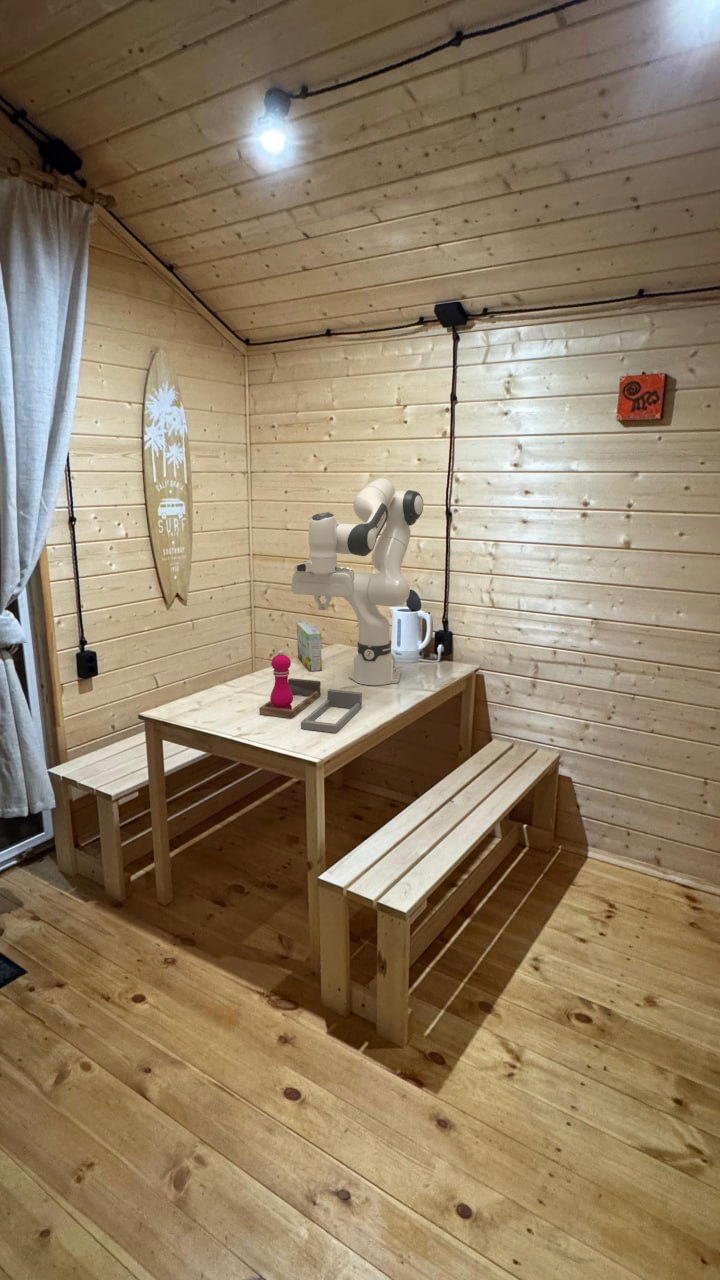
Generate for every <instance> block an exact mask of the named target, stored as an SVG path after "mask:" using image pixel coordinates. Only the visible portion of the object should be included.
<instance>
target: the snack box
mask: <svg viewBox="0 0 720 1280" xmlns="http://www.w3.org/2000/svg"><path fill="white" fill-rule="evenodd" d="M296 637H297V640H296V641H297V658H298V659H299V660H298V661H300V662H301V663H302V665H304V667H305V668H306V670H307V671H308V672H309V673H311V672H321V671H322V670H323V668H322V667H323V666H322V665H323V663H322V658H323V657H322V633H321V632H320V631H319V630H318V629H317V628H315V626H313V624H311V622H309V621H304V622H296Z"/></svg>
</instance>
